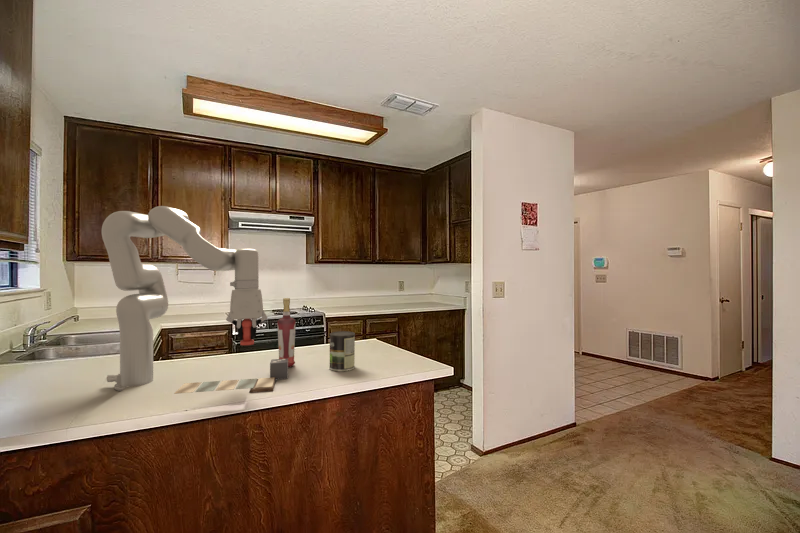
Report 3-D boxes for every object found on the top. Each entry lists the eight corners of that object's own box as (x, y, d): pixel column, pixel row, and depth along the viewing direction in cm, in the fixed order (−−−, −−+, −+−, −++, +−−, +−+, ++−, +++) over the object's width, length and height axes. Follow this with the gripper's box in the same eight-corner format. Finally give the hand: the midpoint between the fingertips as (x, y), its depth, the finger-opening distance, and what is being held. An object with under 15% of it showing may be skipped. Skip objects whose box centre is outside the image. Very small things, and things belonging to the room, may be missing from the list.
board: (172, 398, 120) (172, 394, 120) (183, 386, 132) (183, 382, 132) (273, 390, 127) (273, 386, 127) (275, 380, 139) (275, 376, 139)
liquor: (295, 368, 155) (295, 299, 155) (276, 369, 154) (276, 299, 154) (296, 363, 163) (296, 297, 162) (277, 364, 161) (277, 297, 161)
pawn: (239, 345, 128) (239, 319, 128) (241, 343, 132) (241, 317, 132) (253, 345, 129) (253, 318, 129) (254, 342, 134) (254, 317, 133)
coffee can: (331, 372, 149) (331, 336, 149) (327, 365, 159) (327, 331, 159) (357, 370, 152) (357, 334, 152) (352, 364, 162) (352, 330, 162)
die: (270, 379, 139) (270, 363, 139) (271, 375, 145) (271, 359, 145) (287, 378, 141) (287, 362, 141) (287, 374, 147) (287, 358, 147)
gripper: (218, 286, 125) (218, 342, 125) (271, 285, 129) (271, 340, 129) (223, 285, 133) (223, 338, 133) (272, 284, 136) (273, 336, 137)
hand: (247, 338), depth 131 cm, fingers closed on pawn, 3 cm apart
